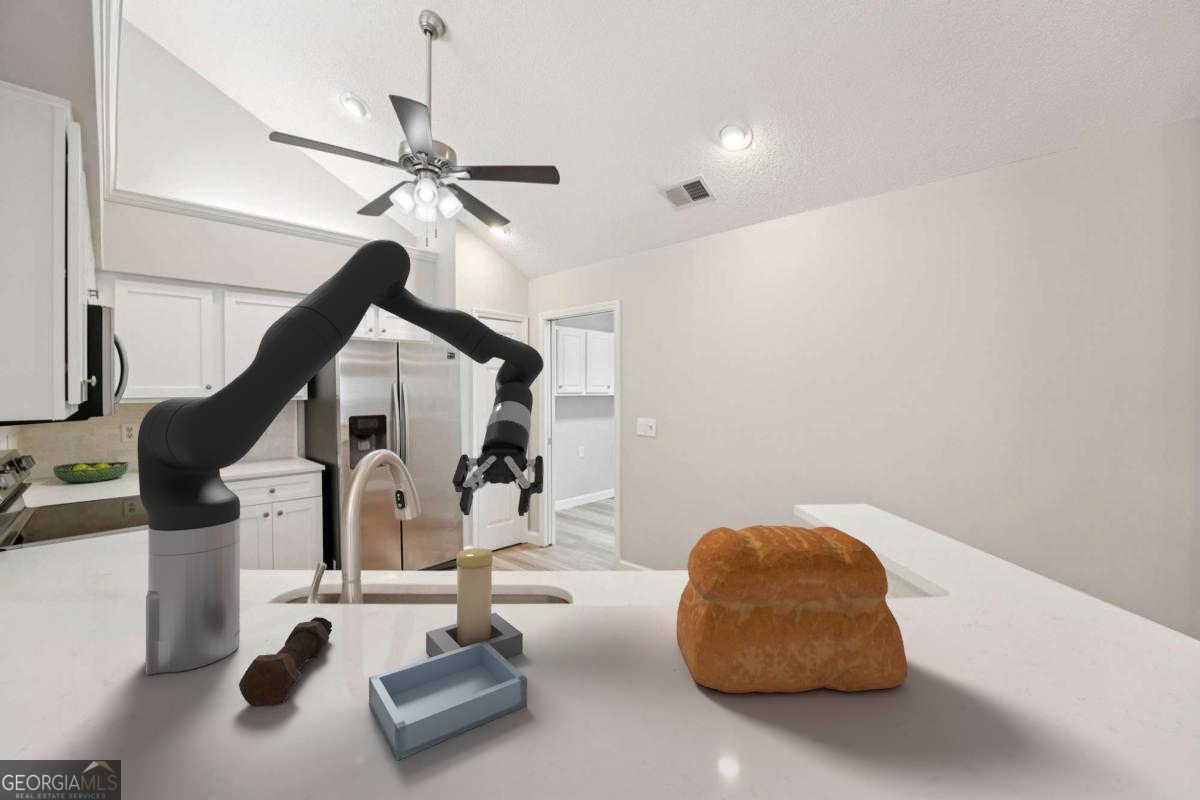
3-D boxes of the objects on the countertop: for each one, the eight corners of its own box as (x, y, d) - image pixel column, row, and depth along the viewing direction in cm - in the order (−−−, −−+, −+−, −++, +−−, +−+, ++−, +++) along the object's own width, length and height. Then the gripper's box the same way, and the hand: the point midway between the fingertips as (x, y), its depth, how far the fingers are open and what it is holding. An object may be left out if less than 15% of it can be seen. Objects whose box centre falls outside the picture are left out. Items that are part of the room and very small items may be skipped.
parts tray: (397, 760, 46) (397, 728, 46) (369, 704, 54) (369, 676, 54) (526, 705, 54) (526, 678, 54) (484, 664, 63) (484, 640, 63)
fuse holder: (448, 678, 60) (448, 657, 60) (425, 651, 66) (426, 632, 66) (522, 652, 66) (522, 633, 66) (495, 629, 72) (495, 612, 72)
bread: (923, 697, 57) (924, 546, 57) (696, 702, 55) (697, 548, 55) (847, 632, 73) (848, 514, 72) (669, 635, 71) (670, 514, 71)
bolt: (326, 653, 69) (272, 719, 54) (292, 637, 68) (228, 699, 53) (349, 615, 70) (302, 670, 55) (316, 599, 69) (259, 649, 54)
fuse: (464, 664, 63) (465, 561, 63) (450, 650, 66) (451, 552, 66) (497, 653, 65) (498, 554, 65) (482, 639, 69) (483, 546, 69)
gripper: (549, 447, 91) (540, 526, 79) (471, 445, 91) (451, 525, 79) (546, 419, 85) (537, 500, 74) (463, 418, 85) (441, 498, 74)
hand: (492, 513), depth 77 cm, fingers open, 8 cm apart
